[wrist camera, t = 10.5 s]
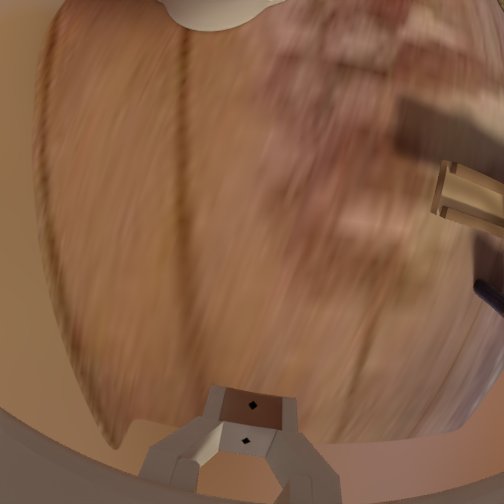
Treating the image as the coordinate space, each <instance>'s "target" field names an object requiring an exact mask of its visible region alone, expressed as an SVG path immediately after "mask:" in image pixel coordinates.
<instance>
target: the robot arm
mask: <svg viewBox="0 0 504 504" xmlns="http://www.w3.org/2000/svg"><path fill="white" fill-rule="evenodd" d="M158 1H159V2H161V3H163V5H164V6H165V8H166V10H167V12H168V14H169V15H170V17H171V18H172V19H173V20H174V21H176V22H177V23H178V24H180V25H182V26H184V27H186V28H189V29H193V30H198V31H219V30H225V29H229V28H233V27H236V26H239V25H241V24H243V23H245V22H247V21H249V20H251V19H252V18H254V17H255V16H257V15H258V14H259V13H260V12H261V11H263V10H264V9H265V8H267V7H268V6H271V5H274V4H277V3H280V2H283V1H285V0H158ZM218 450H219V451H225V452H232V453H239V454H245V455H251V456H257V457H264V458H265V459H266V461H267V463H268V464H269V466H270V468H271V469H272V471H273V473H274V474H275V476H276V478H277V480H278V481H279V483H280V485H281V486H282V488H283V490H282V491H281V493H280V494H279V496H278V497H277V499H276V500H275V502H274V503H273V504H342V497H341V488H340V479H339V475H338V474H337V473H336V472H335V471H334V470H333V469H332V468H331V466H330V465H329V464H328V463H327V462H326V461H325V460H324V458H323V457H322V456H321V455H320V454H319V452H318V451H317V450H316V449H315V448H314V447H313V445H312V444H311V443H310V442H309V441H308V439H307V438H306V437H305V436H304V435H303V433H299V432H298V420H297V400H296V398H291V397H283V396H282V397H281V396H275V395H268V394H261V393H255V392H254V393H253V392H248V391H243V390H238V389H234V388H229V387H227V388H226V387H223V386H219V385H215V384H212V386H211V388H210V391H209V395H208V398H207V402H206V406H205V409H204V413H203V416H202V417H200V416H198V417H196V418H195V419H193V420H192V421H190V422H189V423H187V424H186V425H184V426H183V427H181V428H180V429H178V430H177V431H175V432H173V433H172V434H170V435H169V436H167V437H166V438H164V439H162V440H161V441H159V442H158V443H156V444H154V445H153V446H151V447H150V448H149V451H148V453H147V455H146V458H145V461H144V463H143V465H142V468H141V470H140V473H139V475H138V476H135V475H132V474H130V473H127V472H124V471H121V470H119V469H116V468H113V467H111V466H108V465H106V464H103V463H101V462H99V461H96V460H94V459H92V458H89V457H87V456H85V455H83V454H81V453H79V452H77V451H74V450H72V449H70V448H68V447H66V446H64V445H62V444H60V443H59V442H57V441H55V440H53V439H51V438H49V437H47V436H45V435H44V434H42V433H40V432H39V431H37V430H35V429H34V428H32V427H30V426H29V425H27V424H25V423H24V422H22V421H21V420H19V419H17V418H16V417H14V416H13V415H11V414H10V413H8V412H7V411H5V410H4V409H3V408H1V407H0V504H265V503H254V502H246V501H239V500H232V499H226V498H220V497H215V496H210V495H205V494H200V493H197V488H198V477H199V469H200V467H201V466H202V465H203V464H205V463H206V462H207V461H208V460H209V459H210V458H211V457H212V456H213V455H215V454H216V453H217V452H218ZM371 504H504V472H501V473H499V474H496V475H493V476H491V477H488V478H485V479H482V480H479V481H476V482H473V483H470V484H467V485H464V486H460V487H457V488H453V489H449V490H445V491H442V492H437V493H433V494H428V495H424V496H418V497H413V498H407V499H401V500H395V501H388V502H380V503H371Z"/></svg>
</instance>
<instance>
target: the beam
mask: <svg viewBox="0 0 504 504" xmlns="http://www.w3.org/2000/svg"><path fill="white" fill-rule="evenodd" d="M430 212H431V213H433V214H435V215H438V216H441V217H443V218H445V219H448V220H451V221H454V222H457V223H460V224H464V225H467V226H470V227H473V228H475V229H478V230H481V231H484V232H487V233H490V234H493V235H495V236H498V237H501V238H504V184H503V183H501V182H499V181H497V180H495V179H492V178H490V177H488V176H486V175H484V174H482V173H480V172H478V171H475V170H473V169H471V168H469V167H466V166H464V165H462V164H459V163H455V162H451V161H447V160H442V161H441V167H440V172H439V176H438V181H437V186H436V190H435V195H434V199H433V203H432V207H431V211H430Z"/></svg>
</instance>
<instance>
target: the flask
mask: <svg viewBox="0 0 504 504" xmlns="http://www.w3.org/2000/svg"><path fill="white" fill-rule="evenodd" d="M473 289H474V291H475V293H476V294H477V295H478V296H479V297H480V298H481V299H483V300H484V301H485V302H487V303H488V304H489V305H490V306H491V307H492V308H494V309H495V310H496V311H497V312H498V313H499V314H500V315H501V316H502V317H503V318H504V293H503V292H501V291H498V290H497V289H496V288H495V287H493V286H490V285H489V284H488V283H486V282H485V281H484V280H482V279H479V280H476V282H475V284H474V287H473Z"/></svg>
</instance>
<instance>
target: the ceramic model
mask: <svg viewBox="0 0 504 504" xmlns="http://www.w3.org/2000/svg"><path fill="white" fill-rule="evenodd" d="M497 1H498V3H499V4H500V6H501V8H502V10H503V12H504V0H497Z"/></svg>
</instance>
